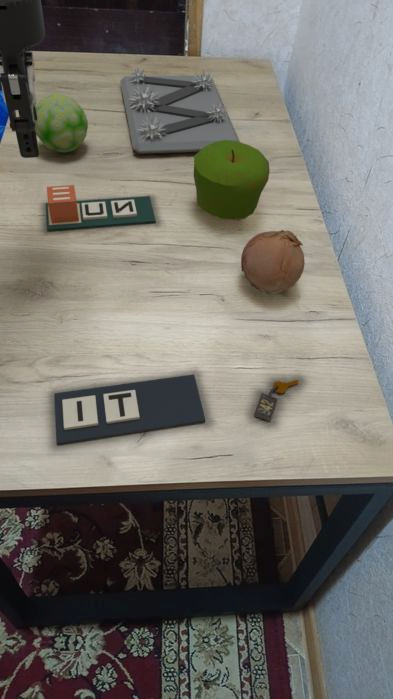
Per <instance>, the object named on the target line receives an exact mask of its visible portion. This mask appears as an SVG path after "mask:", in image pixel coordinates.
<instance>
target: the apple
mask: <svg viewBox="0 0 393 699" xmlns="http://www.w3.org/2000/svg"><path fill="white" fill-rule="evenodd" d="M239 141H240V140H239ZM239 141H232V140H223V141H217V142H214V143H212V144H209V145H207V146H205V147H204V148H203V149H201V150H200V151H199V152H196V154H195V155H194V156H193V180H194V181H193V182H194V184H195V186H194V187H195V191H196V204H197V205H198V207H199V208H200V209H201V210H202V211H203V212H204V213H206V214H208V215H210V216H213V217H215V218H219V219H222V220H232V221H233V220H234V221H235V220H241V219H243V220H244V219H246V218H248V217H249V216H251V215H253V214H254V212H255V211H256V209H257V206H258V203H259V201H260V198H261V195H262V193H263V190H264V189H265V187H266V186H267V183H268V181H269V178H270V162H269V160H268V159H267V158H266V156H265V155H264V154H263V153H262V152H261V151H260V150H259V149H258V148H255V147H253V146H252V145H250V144H247V143H244V142H241V141H240V142H239Z"/></svg>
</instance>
